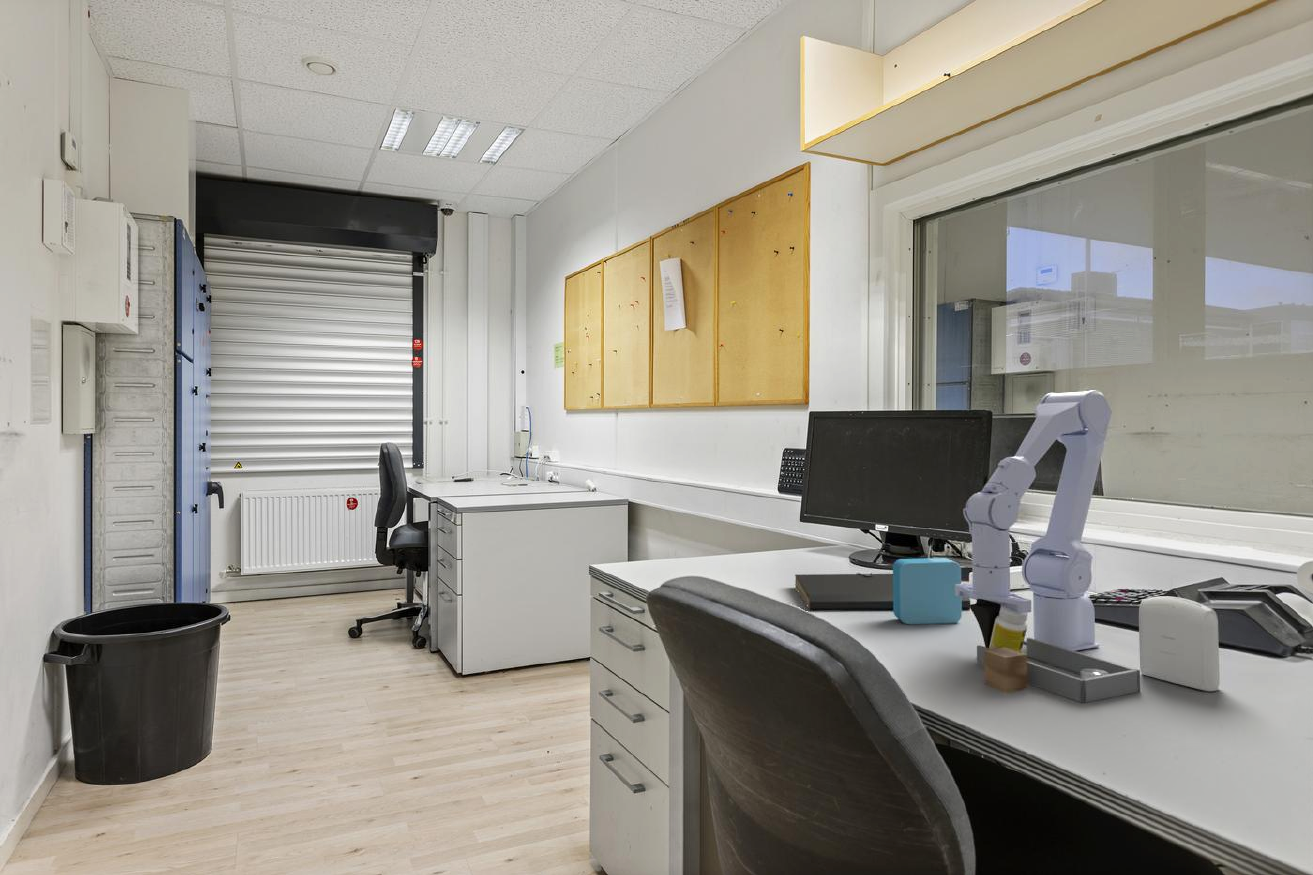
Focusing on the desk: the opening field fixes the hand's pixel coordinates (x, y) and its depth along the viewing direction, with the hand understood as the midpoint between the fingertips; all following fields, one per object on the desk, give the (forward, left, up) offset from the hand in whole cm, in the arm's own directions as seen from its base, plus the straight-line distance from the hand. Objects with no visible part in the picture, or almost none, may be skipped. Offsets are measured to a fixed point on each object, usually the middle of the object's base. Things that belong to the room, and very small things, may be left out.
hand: (991, 647), depth 128 cm
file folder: (-11, -44, -2) cm, 45 cm away
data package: (-7, -23, -2) cm, 24 cm away
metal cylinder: (0, +19, -2) cm, 19 cm away
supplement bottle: (0, +2, -1) cm, 3 cm away
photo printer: (-15, +21, -2) cm, 26 cm away
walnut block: (+9, +12, -2) cm, 15 cm away
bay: (0, +12, -2) cm, 12 cm away
